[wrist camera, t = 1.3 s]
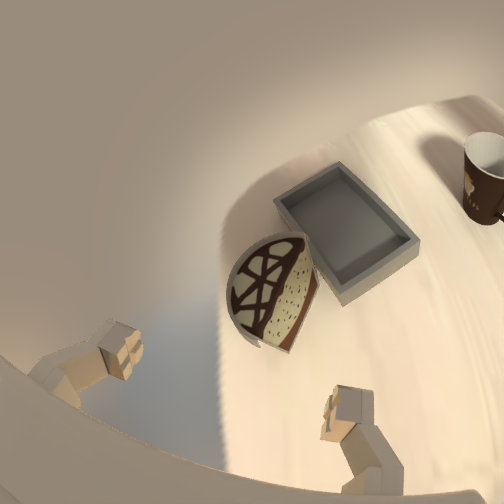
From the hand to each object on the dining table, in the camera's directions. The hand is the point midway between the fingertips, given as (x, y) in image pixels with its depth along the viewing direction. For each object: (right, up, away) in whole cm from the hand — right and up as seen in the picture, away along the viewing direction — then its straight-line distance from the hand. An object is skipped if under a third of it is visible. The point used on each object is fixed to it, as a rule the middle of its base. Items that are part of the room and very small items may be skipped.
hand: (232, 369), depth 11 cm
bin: (+13, +7, +29) cm, 32 cm away
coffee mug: (+32, +9, +21) cm, 40 cm away
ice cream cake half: (+5, -3, +26) cm, 27 cm away
